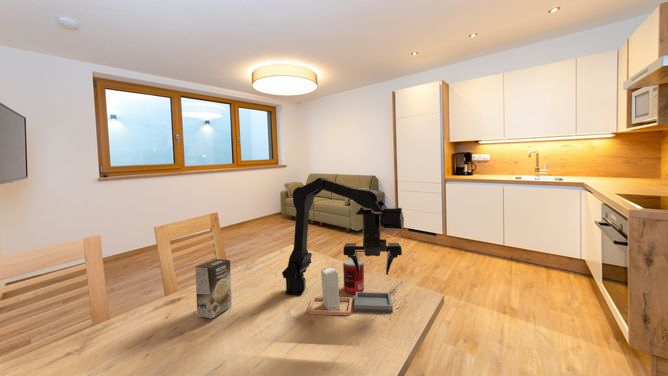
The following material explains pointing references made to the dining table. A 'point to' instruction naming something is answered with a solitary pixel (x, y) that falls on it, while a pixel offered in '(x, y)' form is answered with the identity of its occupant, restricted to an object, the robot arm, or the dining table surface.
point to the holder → (330, 312)
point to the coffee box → (213, 287)
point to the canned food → (353, 276)
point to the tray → (373, 302)
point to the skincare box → (330, 289)
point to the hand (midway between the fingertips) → (372, 274)
